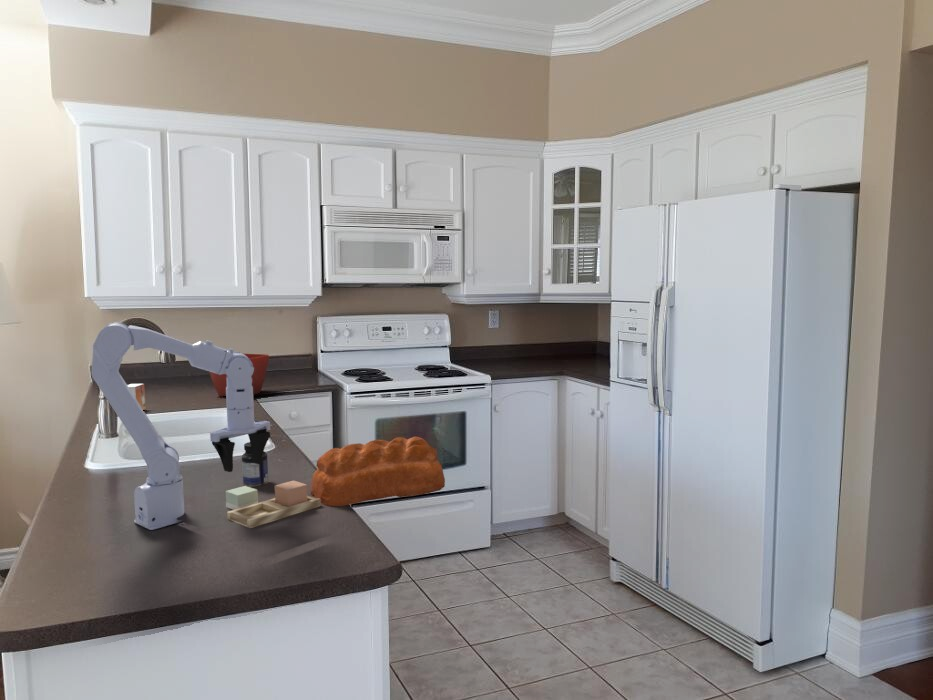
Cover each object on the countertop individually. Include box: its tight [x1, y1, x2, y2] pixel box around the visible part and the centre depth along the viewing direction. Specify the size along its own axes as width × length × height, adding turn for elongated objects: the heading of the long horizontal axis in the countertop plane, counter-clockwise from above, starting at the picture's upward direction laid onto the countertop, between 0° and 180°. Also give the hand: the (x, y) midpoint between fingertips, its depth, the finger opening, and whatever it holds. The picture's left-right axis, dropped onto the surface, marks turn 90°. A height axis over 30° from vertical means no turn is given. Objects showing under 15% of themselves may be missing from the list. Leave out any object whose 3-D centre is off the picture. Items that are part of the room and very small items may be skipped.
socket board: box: [226, 495, 322, 529], centre depth 159 cm, size 18×9×3 cm, turn 139°
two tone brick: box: [224, 485, 259, 511], centre depth 163 cm, size 5×5×5 cm
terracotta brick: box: [274, 479, 308, 507], centre depth 162 cm, size 5×5×5 cm
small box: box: [127, 383, 147, 410], centre depth 278 cm, size 8×6×10 cm
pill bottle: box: [241, 441, 269, 488], centre depth 181 cm, size 6×6×11 cm
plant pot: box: [208, 352, 270, 397], centre depth 313 cm, size 19×19×17 cm
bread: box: [310, 436, 446, 507], centre depth 174 cm, size 16×31×13 cm, turn 121°
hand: (242, 467), depth 163 cm, fingers open, 7 cm apart
